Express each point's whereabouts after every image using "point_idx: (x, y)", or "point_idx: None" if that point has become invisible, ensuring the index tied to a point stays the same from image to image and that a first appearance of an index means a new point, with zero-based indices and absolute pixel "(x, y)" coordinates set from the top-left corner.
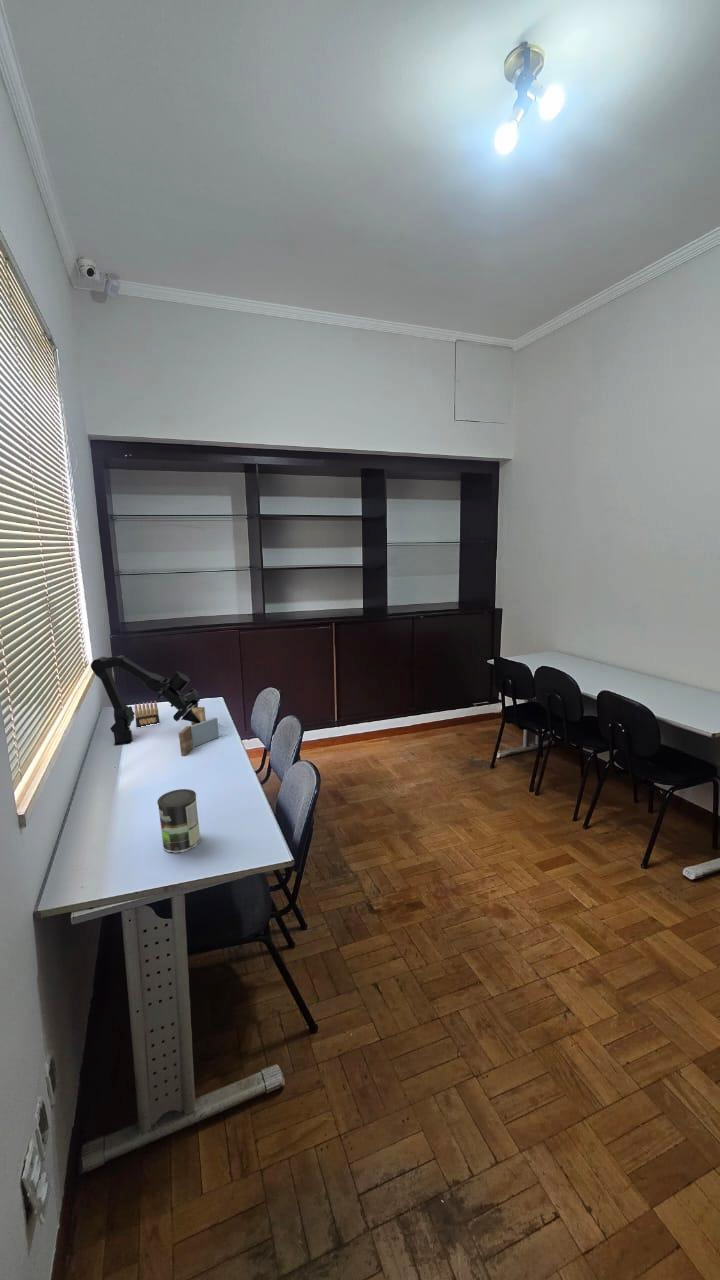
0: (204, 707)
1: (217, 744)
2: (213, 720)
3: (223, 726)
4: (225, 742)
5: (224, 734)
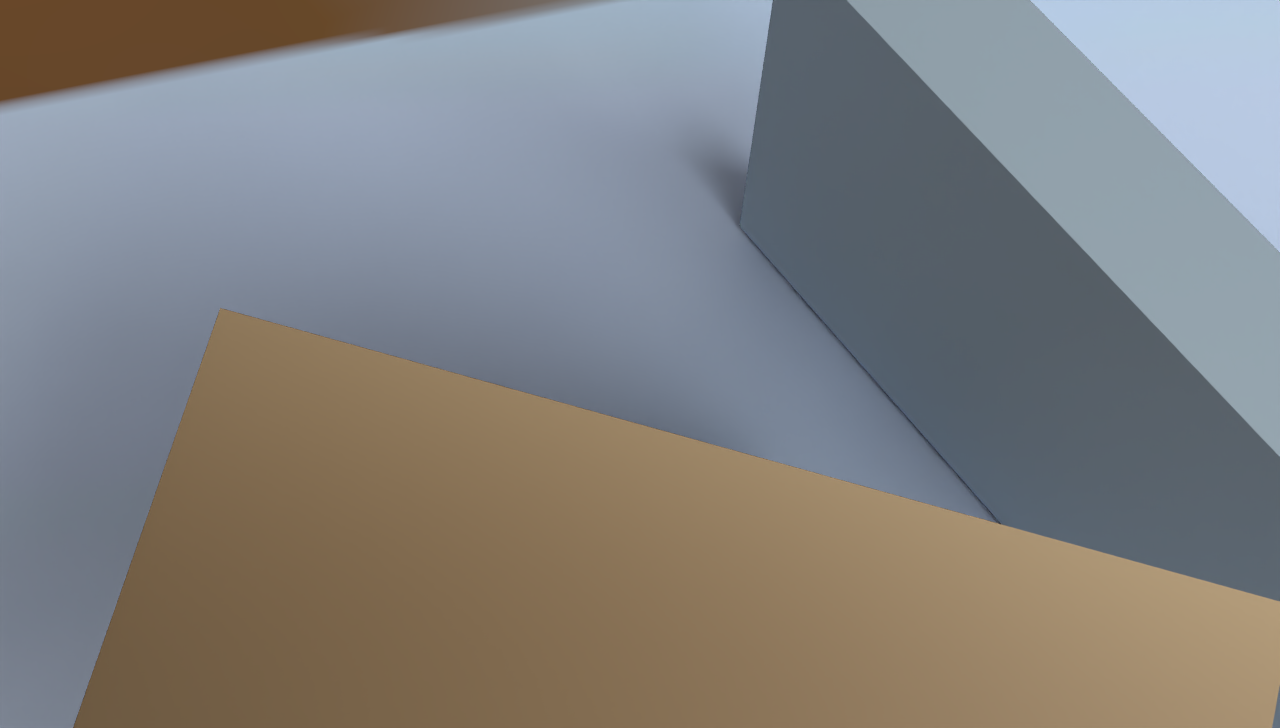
0: (249, 318)
1: (1231, 203)
2: (1009, 38)
3: (13, 134)
4: (1147, 33)
5: (589, 83)
